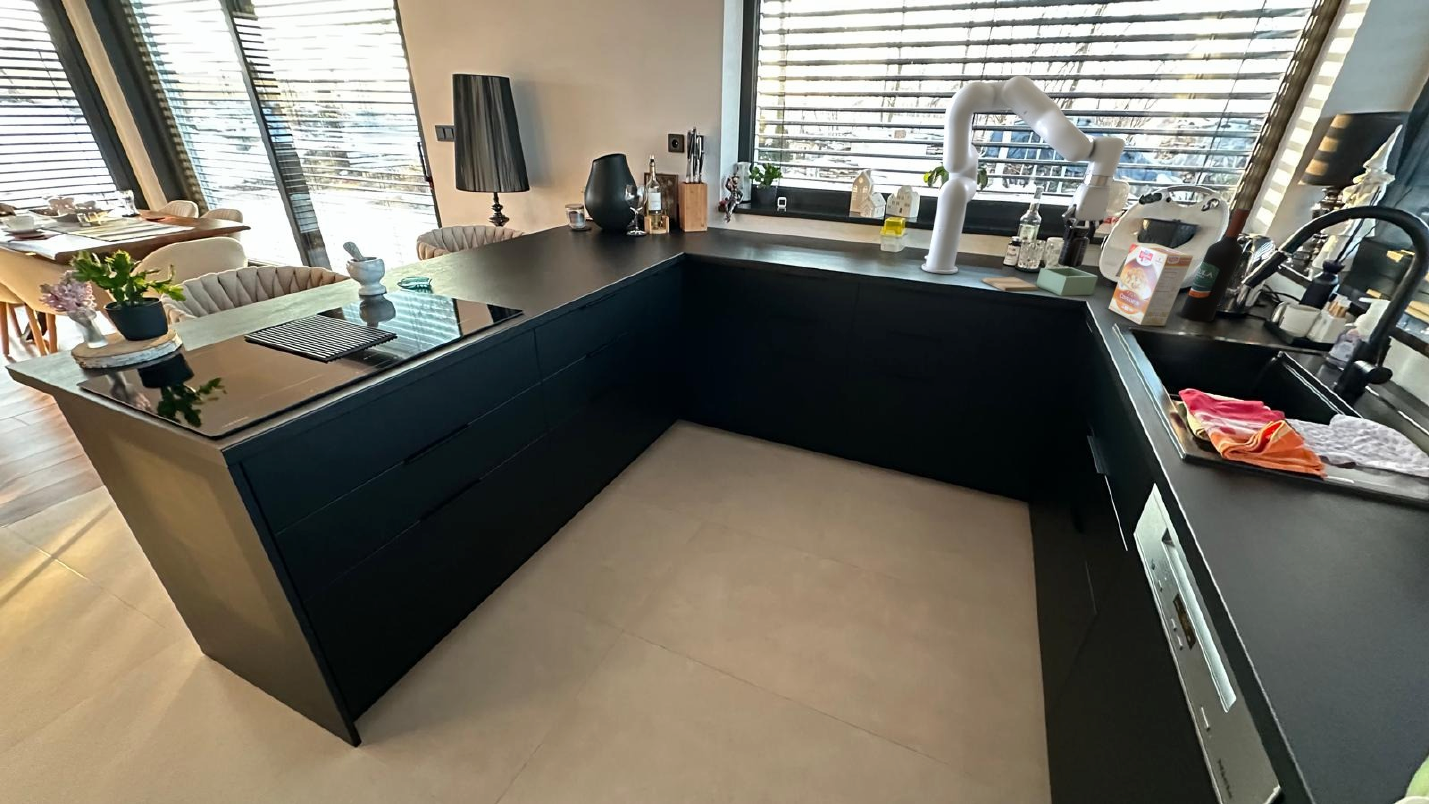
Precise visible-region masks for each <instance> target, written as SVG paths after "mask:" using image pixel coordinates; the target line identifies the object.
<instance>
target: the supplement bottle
mask: <svg viewBox="0 0 1429 804" xmlns="http://www.w3.org/2000/svg"><path fill="white" fill-rule="evenodd" d="M1074 229H1075V232H1074V235H1073V238H1072V241H1071V242H1067V241H1063V244H1062V247H1061V250H1060V252H1059V256H1058V259H1057V264H1058V265H1059V266H1062V267H1072V268H1081V266H1082V264H1083V261H1084V259H1085V256H1086V253H1087V250H1088V247H1089V244H1090V242H1089V241H1090V239H1089V237H1088V236H1087V234H1089V230H1090V228H1089V226H1083V225H1076V226H1075V228H1074Z"/></svg>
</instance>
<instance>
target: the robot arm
mask: <svg viewBox="0 0 1429 804" xmlns="http://www.w3.org/2000/svg"><path fill="white" fill-rule="evenodd" d="M1001 110H1010V111H1012V112H1013V113H1014V114H1015V115H1016V116H1017V117H1018V118H1019V119H1020V120H1022V121H1023V122H1024V123H1025V124H1026V125H1027V126H1028V127H1029V128H1030V129H1031V130H1032V131H1033V132H1034V133H1035V134H1037V136H1039V137H1040V138H1041V139H1042V140H1043V141H1044V142H1046V143H1047V145H1049V146H1050V147H1051V148H1052V149H1053V150H1054V151H1055V152H1057V154H1059V156H1061V157H1062V159H1064V160H1066V161H1067V162H1071V163H1078V162H1081V161H1089V162H1088V165H1087V168H1086V170H1085V173H1084V177H1083V180H1082V183H1081V184H1079V185H1078V186H1077V188H1076V190H1075V192H1074V194H1073V196H1072V198H1071V201H1070V203H1069V205H1068V208H1067V211H1065V212H1064V213H1063V214H1062V215H1061V219H1062V221H1063V224H1064V227H1065V230H1064V233H1063V237H1062V241H1063V242H1064V241H1067V242H1071V241H1072V238H1073V235H1074V232H1075V229H1074V228H1075V226H1078V224H1079V222H1080V221H1081V222H1082V221H1083V222H1084V221H1085V222H1088V227H1089V228H1090V230H1089V234H1087V236H1088V237H1089V239H1090V241H1089V243H1092V242H1093V240H1094V238H1095V234H1096V231H1097V230H1098V229H1099V228H1100V226H1102V224H1103V223H1104V222H1106V220H1107V219H1109V217H1110V215H1109V212H1107V208H1108V205H1109V201H1110V197H1111V191H1112V187H1111V186H1112V183H1114V182H1115V176H1116V172H1117V169H1118V167H1119V163H1120V161H1121V158H1122V155H1123V153H1124V150H1125V147H1126V143H1127V140H1126V138H1125V137H1122V136H1115V135H1114V136H1111V135H1103V136H1097V135H1092V134H1087V133H1084V132H1083V131H1082V130H1081V129H1079V128H1078V127H1077V126H1076V125H1075V123H1073V122H1072V121H1071V120H1070V119H1069V118H1068V117H1067V116H1066V115H1065V114H1064V113H1063V111H1062V109H1061V107H1060V106H1059V105H1058V104H1057V103H1056V101H1055V100H1053V99H1052V98H1051V97H1050V96H1048V95H1047V94H1046V93H1045V92H1044V91H1043V90H1041V88H1039V87H1038V86H1037V85H1036V84H1035V83H1034V81H1033V80H1032V78H1029V77H1027V76H1024V75H1015V76H1013V77H1011V78H1009V79H1008V80H1000V81H993V82H984V81H972V82H970V83H967V84H965V85H964V86H962V87H961V88H960V89H959V90H957V91H956V93H954V95H952V97H951V99H950V100H949V102H948V104H947V106H946V110H945V113H944V127H943V128H944V129H943V149H942V153H943V154H942V166H943V168H944V170H945V171H946V172H948V180H947V181H945V182H944V183H943V185H942V186H941V187H940V189H939V192H938V196H937V202H936V204H937V205H936V213H935V218H934V223H933V225H934V226H933V230H932V235H931V239H930V245H929V250H928V254H927V255H925V256H924V259H925V260H926V262H924V263H922V264H921V266H920V268H921V269H922V270H923V271H925V272H928V273H933V274H938V275H939V274H940V275H954V274H956V273H958V271H959V268H958V267H957V266H955V264H956V261H957V260H956V259H957V255H958V250H959V245H960V242H961V237H962V233H963V227H964V223H965V218H966V211H967V204H968V203H969V202H971V201H972V200H973V198H974V197H975V196H976V193H977V187H978V173H979V171H978V170H979V154H978V153H979V152H978V149H977V148H976V146H975V145H974V144H972V133H973V131H972V130H973V122H972V118H973V115H974V113H985V112H986V113H987V112H994V111H1001Z"/></svg>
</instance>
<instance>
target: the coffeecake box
mask: <svg viewBox="0 0 1429 804" xmlns="http://www.w3.org/2000/svg"><path fill="white" fill-rule="evenodd" d="M1193 258H1194V255H1192V254H1189V253H1187V252H1182V251H1179V250H1177V249H1174V248H1170V247H1167V246H1164V245H1161V244H1158V243H1150V242H1149V243H1145V242H1132V243H1131V246H1130V249H1129V250H1128V253H1127V257H1126V260H1125V262H1124V265H1123V267H1122V270H1121V273H1120V275H1119V278H1118V281H1117V284H1116V286H1115V290H1114V293H1113V295H1112V298H1111V301H1110V304H1109V306H1108V309H1109V310H1110V311H1112V312H1114V313H1116V314H1118V315H1120V316H1122V317H1124V318H1126V319H1127V320H1130V321H1131V322H1133V323H1135V324H1137V325H1139V326H1157V327H1159V326H1160V327H1165V325H1166V322H1167V320H1168V318H1169V315H1170V313H1171V311H1172V308H1173V307H1174V304H1175V301H1176V298H1177V296H1178V294H1179V292H1180V289H1181V287H1182V284H1183V283H1184V280H1185V277H1186V275H1187V273H1188V270H1189V268H1190V265H1191V263H1192V260H1193Z"/></svg>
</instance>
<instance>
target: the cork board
mask: <svg viewBox="0 0 1429 804" xmlns="http://www.w3.org/2000/svg"><path fill="white" fill-rule="evenodd" d="M982 282H983V283H985V284H988V285H990V286H993V287H994V288H997V289H998V290H1001V291H1003V292H1023V291H1037V290H1038V288H1039V287H1038V286H1036V284H1033V283H1030V282H1028V281H1025V280H1023V279H1021V278H1018V277H1015V276H1005V277H1002V276H1001V277H983V279H982Z"/></svg>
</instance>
